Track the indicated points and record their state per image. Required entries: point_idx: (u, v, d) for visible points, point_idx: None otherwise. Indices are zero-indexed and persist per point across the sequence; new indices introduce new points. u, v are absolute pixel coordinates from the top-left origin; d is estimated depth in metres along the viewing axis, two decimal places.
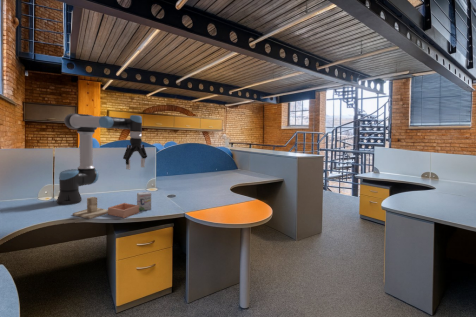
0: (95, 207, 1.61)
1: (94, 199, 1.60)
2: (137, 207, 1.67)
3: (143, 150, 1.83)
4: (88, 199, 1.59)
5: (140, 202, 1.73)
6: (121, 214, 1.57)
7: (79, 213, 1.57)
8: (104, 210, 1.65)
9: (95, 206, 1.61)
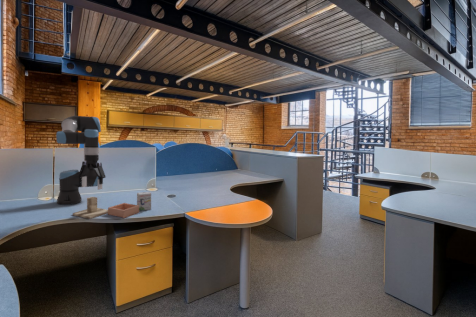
0: (95, 207, 1.61)
1: (94, 199, 1.60)
2: (137, 207, 1.67)
3: None
4: (88, 199, 1.59)
5: (140, 202, 1.73)
6: (121, 214, 1.57)
7: (79, 213, 1.57)
8: (104, 210, 1.65)
9: (95, 206, 1.61)
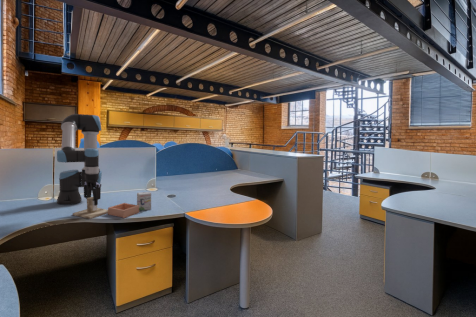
0: None
1: None
2: (137, 207, 1.67)
3: (96, 190, 1.58)
4: (88, 199, 1.59)
5: (140, 202, 1.73)
6: (121, 214, 1.57)
7: (79, 213, 1.57)
8: (104, 210, 1.65)
9: None
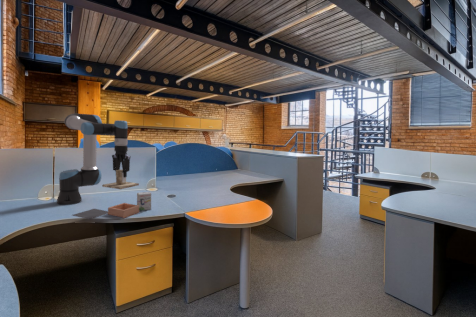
0: None
1: None
2: (137, 207, 1.67)
3: None
4: (117, 171, 1.60)
5: (140, 202, 1.73)
6: (121, 214, 1.57)
7: (109, 185, 1.58)
8: (132, 183, 1.66)
9: None
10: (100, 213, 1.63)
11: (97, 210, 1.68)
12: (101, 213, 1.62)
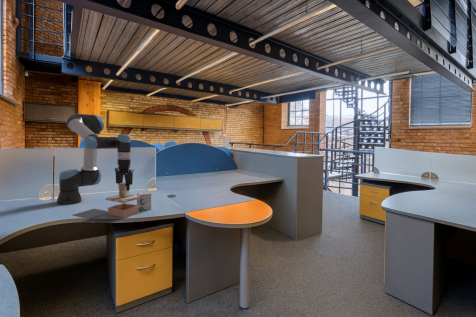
0: None
1: None
2: (137, 207, 1.67)
3: None
4: (120, 184, 1.62)
5: (140, 202, 1.73)
6: (121, 214, 1.57)
7: (112, 198, 1.60)
8: (135, 196, 1.68)
9: None
10: (100, 213, 1.63)
11: (97, 210, 1.68)
12: (101, 213, 1.62)
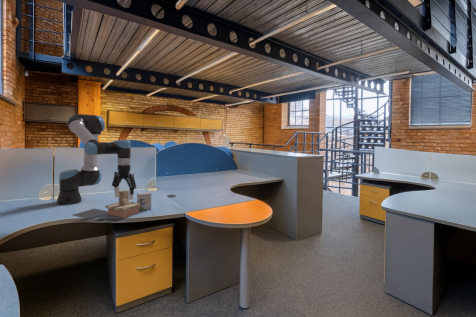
0: (127, 200, 1.64)
1: (126, 192, 1.63)
2: (137, 207, 1.67)
3: None
4: (120, 192, 1.62)
5: (140, 202, 1.73)
6: (121, 214, 1.57)
7: (112, 206, 1.60)
8: (135, 203, 1.68)
9: (127, 199, 1.64)
10: (100, 213, 1.63)
11: (97, 210, 1.68)
12: (101, 213, 1.62)
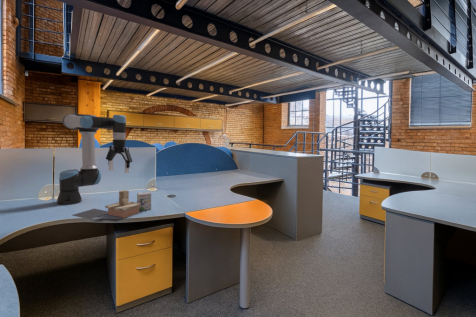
0: (127, 200, 1.64)
1: (126, 192, 1.63)
2: (137, 207, 1.67)
3: (126, 154, 1.62)
4: (120, 192, 1.62)
5: (140, 202, 1.73)
6: (121, 214, 1.57)
7: (112, 206, 1.60)
8: (135, 203, 1.68)
9: (127, 199, 1.64)
10: (100, 213, 1.63)
11: (97, 210, 1.68)
12: (101, 213, 1.62)
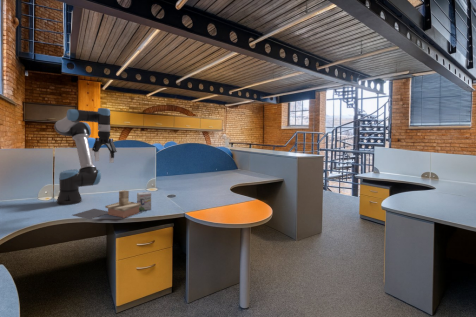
0: (127, 200, 1.64)
1: (126, 192, 1.63)
2: (137, 207, 1.67)
3: None
4: (120, 192, 1.62)
5: (140, 202, 1.73)
6: (121, 214, 1.57)
7: (112, 206, 1.60)
8: (135, 203, 1.68)
9: (127, 199, 1.64)
10: (100, 213, 1.63)
11: (97, 210, 1.68)
12: (101, 213, 1.62)
